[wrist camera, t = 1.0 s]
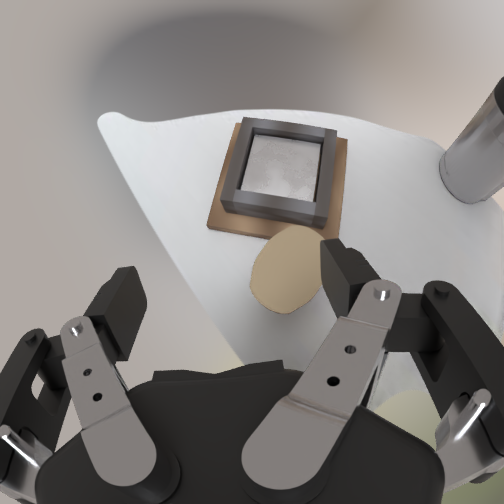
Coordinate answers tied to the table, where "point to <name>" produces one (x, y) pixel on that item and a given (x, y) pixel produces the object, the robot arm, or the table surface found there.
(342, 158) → the socket base
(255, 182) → the mottled stone tile
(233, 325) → the table surface
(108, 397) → the robot arm
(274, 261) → the handle
